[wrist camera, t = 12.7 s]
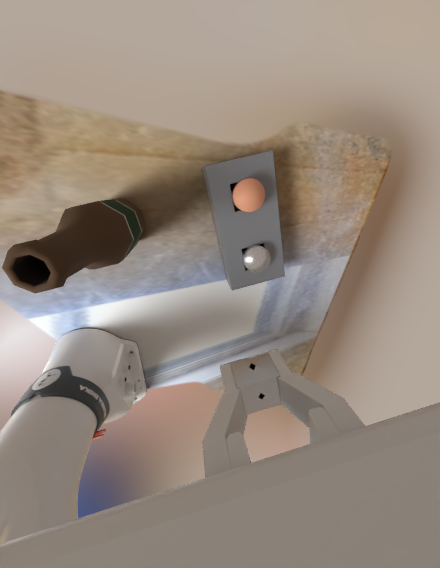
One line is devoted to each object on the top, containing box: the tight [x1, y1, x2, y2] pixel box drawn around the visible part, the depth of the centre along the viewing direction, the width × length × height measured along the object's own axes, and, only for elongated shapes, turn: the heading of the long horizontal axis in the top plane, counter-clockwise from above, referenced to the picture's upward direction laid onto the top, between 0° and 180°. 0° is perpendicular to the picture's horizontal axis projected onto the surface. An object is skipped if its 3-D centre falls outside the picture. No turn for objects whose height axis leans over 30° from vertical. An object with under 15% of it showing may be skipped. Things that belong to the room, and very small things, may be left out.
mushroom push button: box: [232, 178, 265, 212], centre depth 33 cm, size 4×4×6 cm
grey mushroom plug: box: [242, 245, 271, 273], centre depth 38 cm, size 4×4×6 cm
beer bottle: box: [2, 199, 145, 293], centre depth 25 cm, size 8×8×24 cm
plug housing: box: [202, 150, 285, 290], centre depth 37 cm, size 20×10×5 cm, turn 12°
